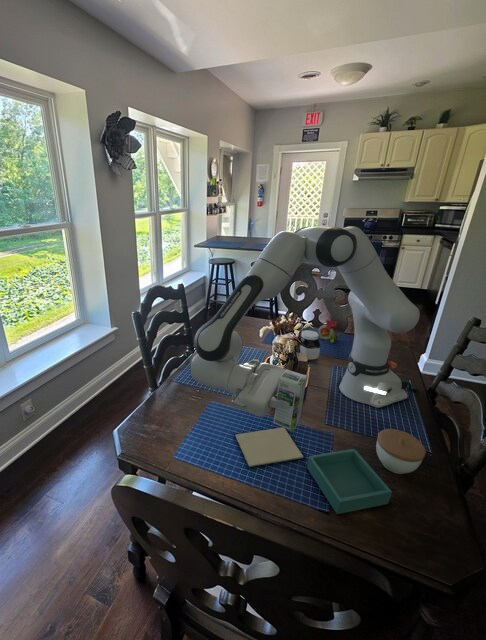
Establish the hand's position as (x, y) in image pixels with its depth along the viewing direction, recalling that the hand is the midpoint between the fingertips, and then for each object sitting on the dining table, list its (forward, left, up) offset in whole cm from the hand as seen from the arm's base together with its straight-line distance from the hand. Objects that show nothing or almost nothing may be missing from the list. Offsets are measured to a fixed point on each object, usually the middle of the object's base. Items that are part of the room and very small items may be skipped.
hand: (293, 397), depth 83 cm
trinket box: (-27, +9, -20) cm, 35 cm away
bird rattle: (-52, -62, -20) cm, 84 cm away
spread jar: (-32, -50, -20) cm, 63 cm away
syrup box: (+1, -1, -9) cm, 9 cm away
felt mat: (+4, -4, -20) cm, 21 cm away
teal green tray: (-10, +12, -20) cm, 25 cm away
